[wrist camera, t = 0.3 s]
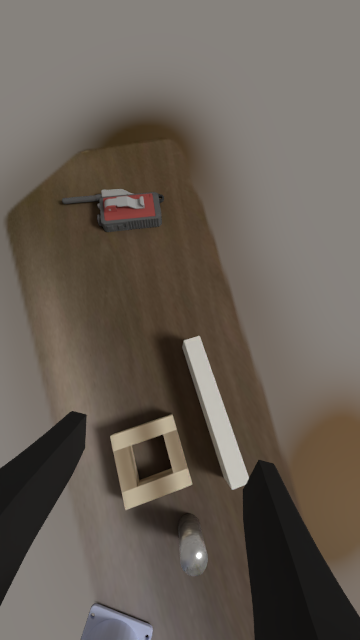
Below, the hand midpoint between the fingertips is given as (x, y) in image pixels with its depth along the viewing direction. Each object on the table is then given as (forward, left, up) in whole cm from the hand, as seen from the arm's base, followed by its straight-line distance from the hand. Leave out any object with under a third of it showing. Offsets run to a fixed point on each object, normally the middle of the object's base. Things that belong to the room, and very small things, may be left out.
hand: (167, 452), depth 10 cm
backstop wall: (+3, -6, -29) cm, 30 cm away
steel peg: (-13, -7, -29) cm, 33 cm away
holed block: (-6, +1, -29) cm, 30 cm away
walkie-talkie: (+32, +22, -30) cm, 49 cm away
